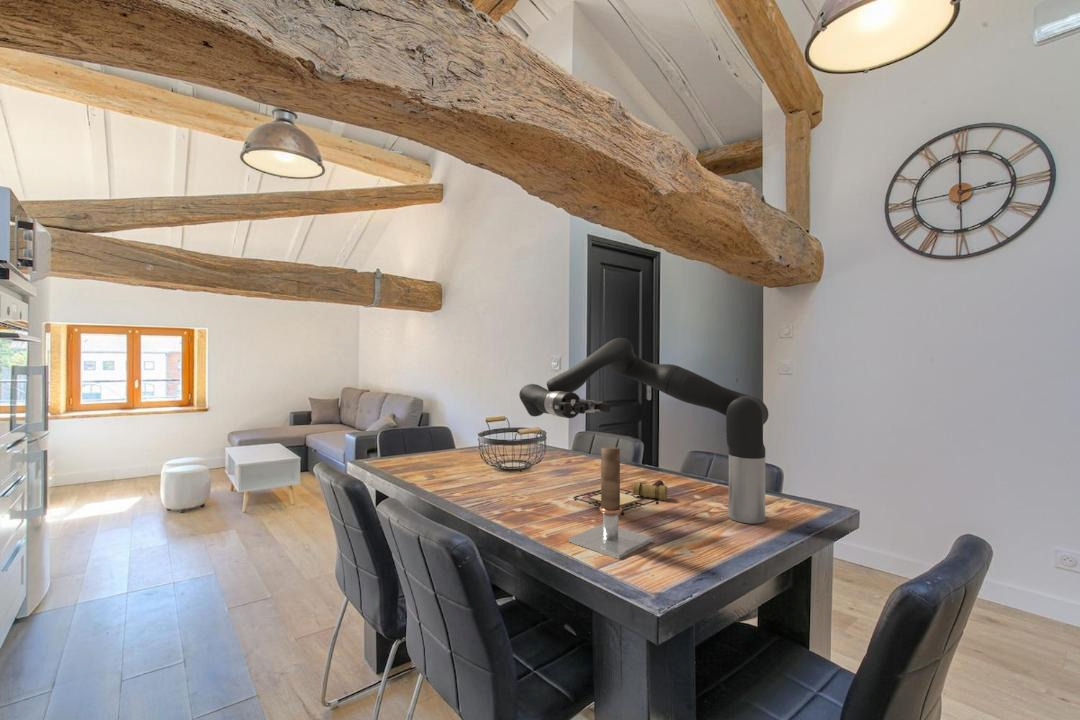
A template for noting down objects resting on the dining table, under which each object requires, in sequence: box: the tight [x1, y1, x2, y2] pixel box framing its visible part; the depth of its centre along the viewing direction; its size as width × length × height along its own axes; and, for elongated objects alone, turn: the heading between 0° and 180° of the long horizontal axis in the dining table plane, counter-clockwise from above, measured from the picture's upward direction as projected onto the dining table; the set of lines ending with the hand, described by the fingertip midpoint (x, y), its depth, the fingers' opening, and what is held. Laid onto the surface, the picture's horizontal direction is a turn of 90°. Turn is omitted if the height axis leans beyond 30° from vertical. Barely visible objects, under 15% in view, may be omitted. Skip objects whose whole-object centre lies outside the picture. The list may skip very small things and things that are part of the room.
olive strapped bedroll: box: [632, 479, 668, 501], centre depth 159 cm, size 21×5×10 cm
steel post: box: [568, 505, 653, 560], centre depth 114 cm, size 14×14×8 cm
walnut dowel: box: [600, 446, 621, 511], centre depth 114 cm, size 4×4×14 cm
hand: (596, 408), depth 129 cm, fingers open, 8 cm apart
